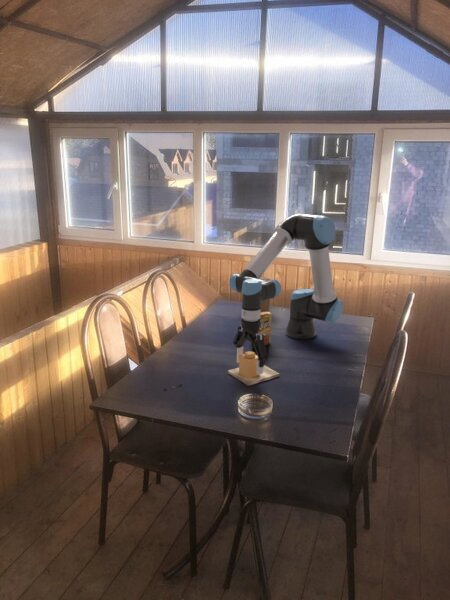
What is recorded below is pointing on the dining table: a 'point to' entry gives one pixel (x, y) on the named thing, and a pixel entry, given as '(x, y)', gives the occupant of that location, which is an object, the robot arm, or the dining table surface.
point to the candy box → (265, 324)
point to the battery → (266, 341)
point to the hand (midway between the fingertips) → (249, 367)
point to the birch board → (265, 376)
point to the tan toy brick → (248, 364)
